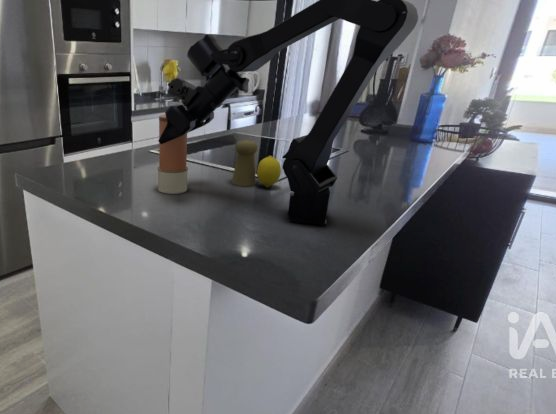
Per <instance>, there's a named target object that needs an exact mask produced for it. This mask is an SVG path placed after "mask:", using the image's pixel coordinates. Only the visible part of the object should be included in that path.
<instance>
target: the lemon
mask: <svg viewBox="0 0 556 414" xmlns="http://www.w3.org/2000/svg"><path fill="white" fill-rule="evenodd" d="M256 169H257V170H256V176H257V177H256V178H257V179H258V181H259V182H260V183H261V184H262V185H264V186H265V187H266V188H269V187H270V186H272V185H274V184H276V183H277V182H279V180H280V177H281V174H282V173H281V172H282V169H281V164H280V162H279V160H278V159H277V158H275V157H273V156H272V155H268V156H266V157H264V158H263V159H261V160H260V161H259V163H258V166H257V168H256Z"/></svg>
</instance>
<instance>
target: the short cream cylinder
mask: <svg viewBox="0 0 556 414" xmlns="http://www.w3.org/2000/svg"><path fill="white" fill-rule="evenodd" d="M188 170H189V167H188V166H186V169H185V170H182V171H164V170H161V169H160V168H159V166H158V167H157V190H158V191H159V192H160V193H163V194H169V195H170V194H171V195H176V194H177V195H178V194H183V193H185V192H187V190H188V172H189V171H188Z"/></svg>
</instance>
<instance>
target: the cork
mask: <svg viewBox="0 0 556 414" xmlns="http://www.w3.org/2000/svg"><path fill="white" fill-rule="evenodd" d="M235 151H236V153H237V156H236V161H235V165H234V170H233V174H232V180H231V183H232V184H233V185H235V186H238V187H252V186H253V187H254V186H255V185H256V184H257V181H256V178H257V177H256V163H255V162H256V160H255V153H256V152H257V151H258V144H257V142H256V141H254V140H252V139H251V140H250V139H244V140H243V139H242V140H239V141H238V142H237V143H236V145H235Z"/></svg>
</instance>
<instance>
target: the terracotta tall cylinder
mask: <svg viewBox="0 0 556 414" xmlns="http://www.w3.org/2000/svg"><path fill="white" fill-rule="evenodd" d="M158 122H159V123H158V134H159V135H158V139H159V138H160V137H161V135H162V133H163V131H164V129H165V127H166V125H167V118H166V114H160V115H158ZM187 148H188V133H187V134H185V135H183V136H180V137H178V138H175V139H173V140H171V141H168V142H166V143H164V144H160V143H159V142H158V151H159V152H158V160H159V161H158V167H159V168H160V169H161V170H164V171H182V170H185V169H186V167H187V161H188V159H187V156H188V149H187Z"/></svg>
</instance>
